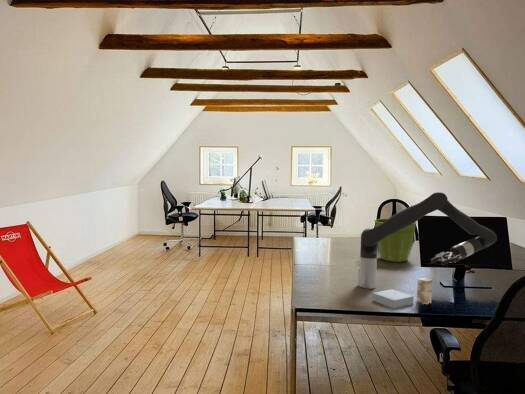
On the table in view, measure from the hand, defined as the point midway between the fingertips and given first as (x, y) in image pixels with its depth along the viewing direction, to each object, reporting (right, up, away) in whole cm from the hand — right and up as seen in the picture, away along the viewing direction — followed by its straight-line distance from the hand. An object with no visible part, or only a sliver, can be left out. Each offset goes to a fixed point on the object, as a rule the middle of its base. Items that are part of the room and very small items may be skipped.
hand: (436, 262), depth 223 cm
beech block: (-6, -21, +1) cm, 21 cm away
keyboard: (+46, -16, +79) cm, 93 cm away
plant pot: (+8, -13, +101) cm, 102 cm away
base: (-22, -20, +1) cm, 30 cm away
